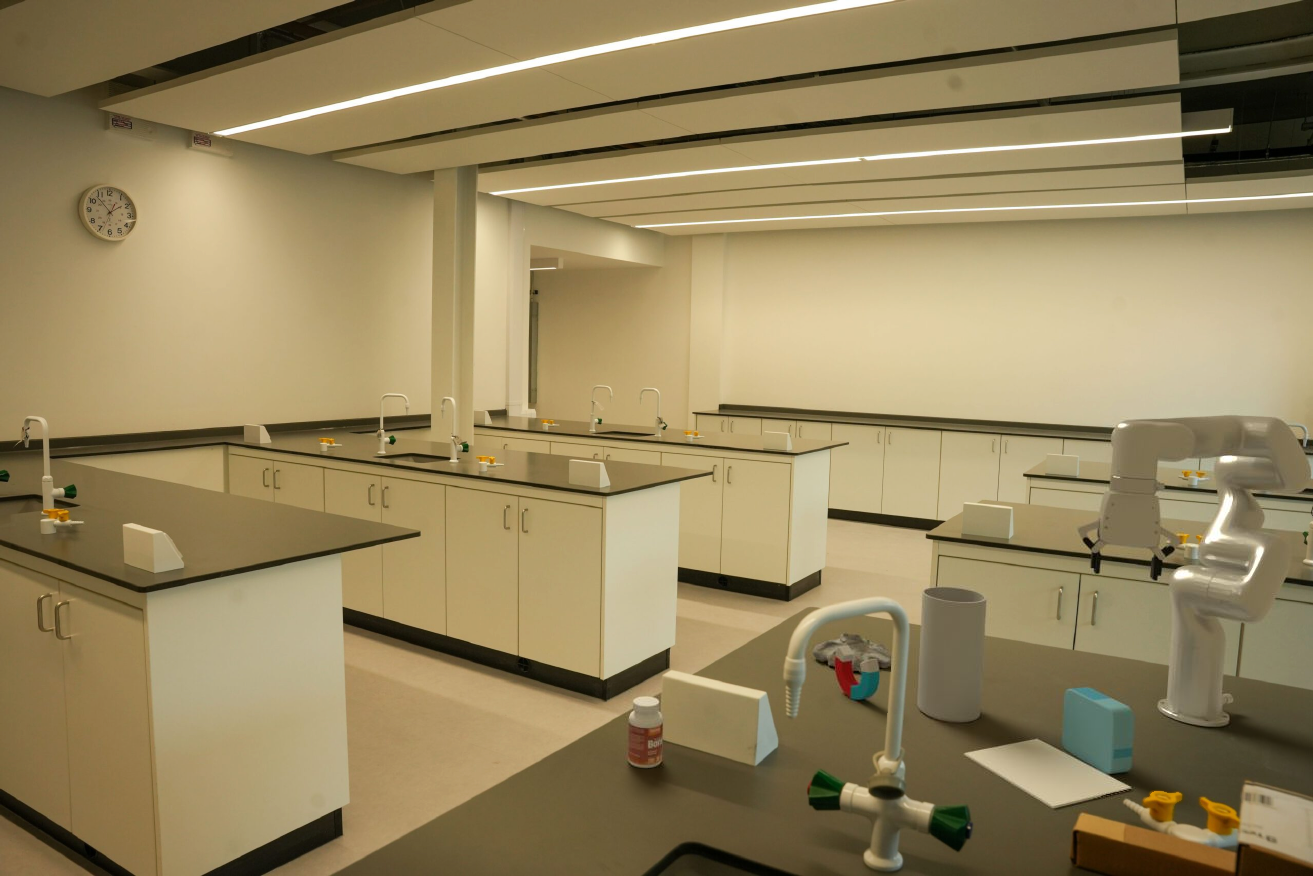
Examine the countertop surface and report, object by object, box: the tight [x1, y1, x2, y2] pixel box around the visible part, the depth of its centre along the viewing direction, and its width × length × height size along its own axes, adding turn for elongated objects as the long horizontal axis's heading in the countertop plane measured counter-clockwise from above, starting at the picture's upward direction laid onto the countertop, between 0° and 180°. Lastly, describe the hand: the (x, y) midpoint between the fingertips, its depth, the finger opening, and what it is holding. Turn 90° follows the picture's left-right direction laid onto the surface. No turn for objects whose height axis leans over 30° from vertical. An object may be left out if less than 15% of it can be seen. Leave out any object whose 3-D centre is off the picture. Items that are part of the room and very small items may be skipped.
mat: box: [963, 738, 1132, 810], centre depth 146 cm, size 18×20×1 cm
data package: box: [1061, 686, 1135, 775], centre depth 150 cm, size 12×4×12 cm, turn 15°
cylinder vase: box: [916, 586, 987, 724], centre depth 171 cm, size 12×12×25 cm
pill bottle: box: [627, 695, 664, 769], centre depth 147 cm, size 6×6×11 cm
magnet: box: [834, 645, 881, 701], centre depth 178 cm, size 12×3×10 cm, turn 26°
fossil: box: [812, 632, 892, 674], centre depth 202 cm, size 18×11×15 cm
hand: (1124, 575), depth 157 cm, fingers open, 9 cm apart
